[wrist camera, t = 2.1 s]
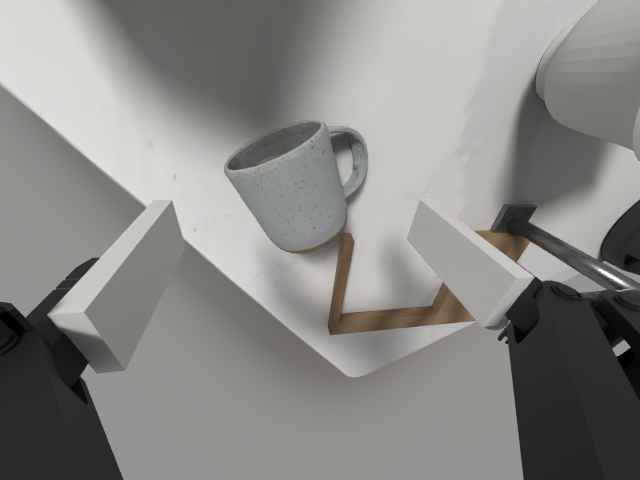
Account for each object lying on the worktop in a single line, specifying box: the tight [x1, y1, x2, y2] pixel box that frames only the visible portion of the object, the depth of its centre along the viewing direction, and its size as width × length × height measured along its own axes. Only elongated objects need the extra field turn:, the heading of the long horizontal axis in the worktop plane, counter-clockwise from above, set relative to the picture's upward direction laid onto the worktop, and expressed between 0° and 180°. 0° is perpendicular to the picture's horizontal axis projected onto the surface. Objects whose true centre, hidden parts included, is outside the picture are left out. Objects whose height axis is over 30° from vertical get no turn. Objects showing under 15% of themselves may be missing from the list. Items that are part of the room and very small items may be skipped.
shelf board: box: [328, 231, 530, 335], centre depth 32 cm, size 24×16×2 cm, turn 86°
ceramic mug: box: [224, 120, 368, 253], centre depth 18 cm, size 11×8×8 cm
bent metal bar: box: [485, 205, 640, 330], centre depth 22 cm, size 17×4×14 cm, turn 86°
